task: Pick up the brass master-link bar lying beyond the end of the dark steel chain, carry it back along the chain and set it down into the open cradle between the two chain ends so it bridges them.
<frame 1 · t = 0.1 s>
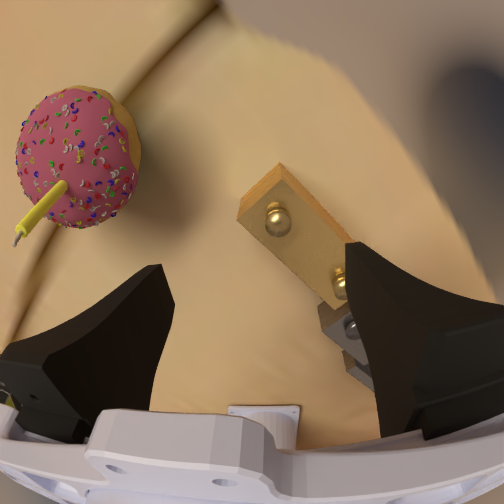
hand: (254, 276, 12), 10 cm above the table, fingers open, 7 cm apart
cupcake: (107, 143, 20), on the table
brass link: (305, 224, 22), on the table
chain: (401, 355, 28), on the table
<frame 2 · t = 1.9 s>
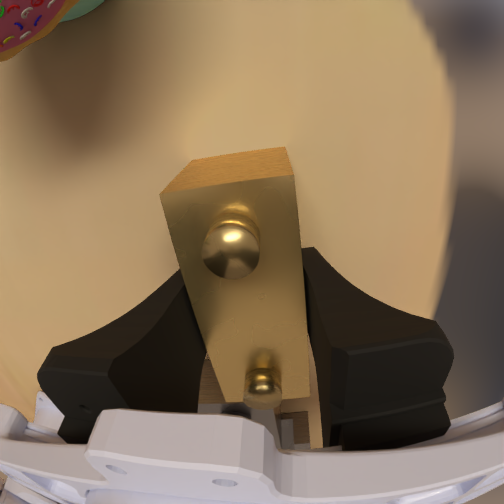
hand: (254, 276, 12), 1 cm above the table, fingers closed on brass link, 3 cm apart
brass link: (255, 258, 13), on the table, touching gripper
chain: (261, 448, 22), on the table
when the fingers open (3 cm above the table, at t = 5.0 s): brass link stays where it is, resting on chain.
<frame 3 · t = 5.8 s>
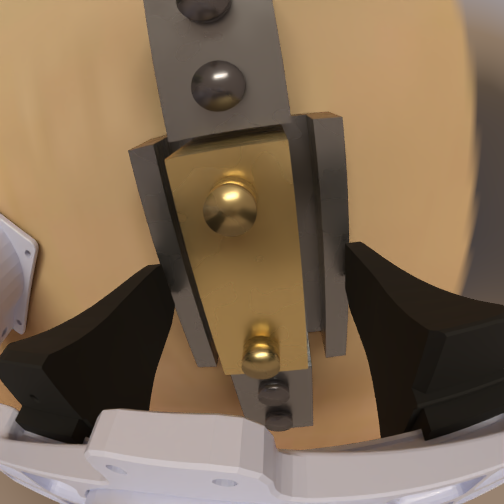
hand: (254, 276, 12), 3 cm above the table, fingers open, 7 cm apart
brass link: (253, 232, 14), resting on chain
chain: (256, 241, 15), on the table
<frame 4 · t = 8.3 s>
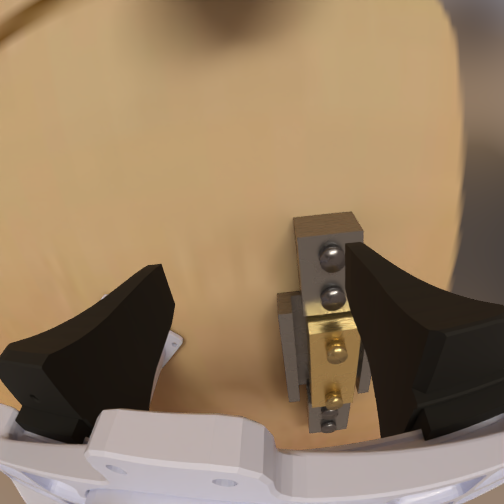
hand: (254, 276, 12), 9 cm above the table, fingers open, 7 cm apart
brass link: (327, 337, 26), resting on chain
chain: (326, 339, 26), on the table
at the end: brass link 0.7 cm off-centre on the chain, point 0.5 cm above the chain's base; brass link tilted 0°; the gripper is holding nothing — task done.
